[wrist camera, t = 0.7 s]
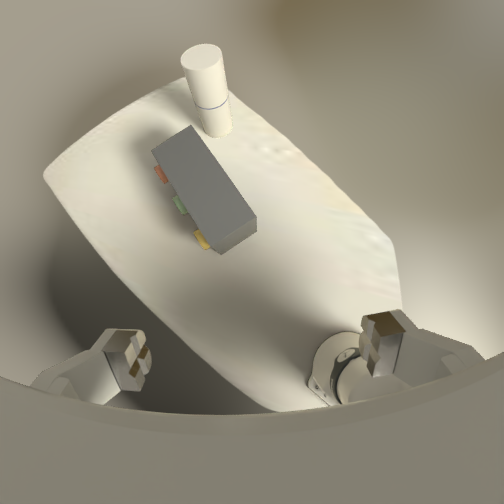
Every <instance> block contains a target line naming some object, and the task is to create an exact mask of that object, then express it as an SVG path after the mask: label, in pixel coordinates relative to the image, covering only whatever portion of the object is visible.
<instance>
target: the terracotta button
mask: <svg viewBox="0 0 504 504" xmlns="http://www.w3.org/2000/svg"><path fill="white" fill-rule="evenodd" d="M154 169H155V171H156V173H157V174H158V176H159V177H160V179H161V180H162V182H163V183H164V184H165V183H167V182H168V181H169V180H168V178H167V176H166V175H165V173H164V172H163V170H162V168H161V167H160V165H157V166H156V167H155V168H154Z"/></svg>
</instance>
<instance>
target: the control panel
mask: <svg viewBox="0 0 504 504" xmlns="http://www.w3.org/2000/svg"><path fill="white" fill-rule="evenodd" d="M151 151H152V153H153V155H154V157H155V158H156V160H157V162H158V163H159V165H160V167H161V168H162V170H163V172H164V173H165V175H166V176H167V178H168V180H169V181H170V183H171V185H172V186H173V188H174V190H175V191H176V193H177V194H178V196H179V198H180V199H181V201H182V203H183V204H184V206H185V207H186V209H187V211H188V212H189V214H190V215H191V217H192V219H193V220H194V222H195V223H196V225H197V227H198V228H199V230H200V231H201V233H202V234H203V236H204V238H205V239H206V241H207V242H208V244H209V245H210V247H211V248H213V249H214V250H215V251H217V252H218V253H219V254H221V255H222V254H223V253H225V252H226V251H228V250H229V249H231V248H232V247H234V246H235V245H237V244H238V243H240V242H241V241H243V240H244V239H246V238H248V237H249V236H251V235H252V234H254V233H255V232H257V225H256V215H255V214H254V213H253V211H252V210H251V208H250V207H249V205H248V204H247V202H246V201H245V200H244V198H243V197H242V195H241V194H240V192H239V191H238V190H237V188H236V187H235V185H234V184H233V182H232V181H231V180H230V178H229V177H228V175H227V174H226V173H225V171H224V170H223V168H222V167H221V166H220V164H219V163H218V161H217V160H216V159H215V157H214V156H213V154H212V153H211V152H210V150H209V149H208V147H207V146H206V145H205V143H204V142H203V140H202V139H201V138H200V136H199V135H198V134H197V132H196V131H195V129H194V128H193V127H192V125H190V126H188V127H187V128H185V129H184V130H182V131H180V132H179V133H177V134H176V135H174V136H173V137H171V138H169V139H168V140H166V141H165V142H163V143H162V144H160V145H159V146H157V147H156V148H154V149H153V150H151Z"/></svg>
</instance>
